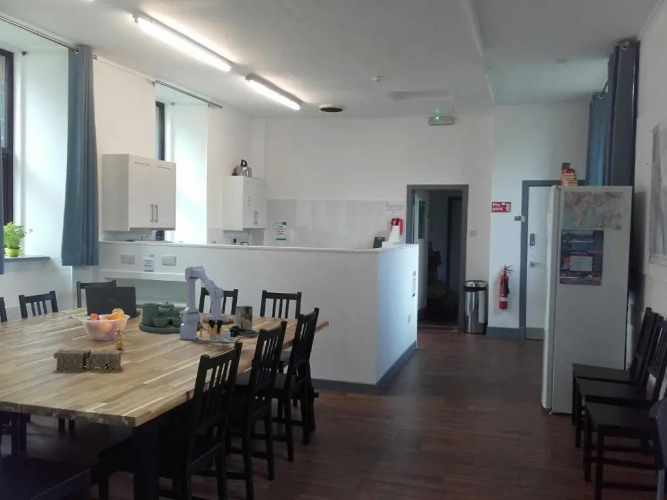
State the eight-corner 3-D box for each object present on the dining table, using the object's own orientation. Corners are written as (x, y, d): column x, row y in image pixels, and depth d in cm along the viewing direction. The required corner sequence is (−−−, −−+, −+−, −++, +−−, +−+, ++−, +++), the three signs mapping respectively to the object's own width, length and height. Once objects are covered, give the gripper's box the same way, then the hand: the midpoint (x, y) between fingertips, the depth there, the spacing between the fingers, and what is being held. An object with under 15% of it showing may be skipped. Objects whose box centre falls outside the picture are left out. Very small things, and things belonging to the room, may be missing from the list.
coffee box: (247, 329, 384) (247, 305, 383) (252, 330, 379) (253, 306, 378) (235, 330, 378) (235, 306, 377) (240, 332, 373) (240, 307, 372)
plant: (219, 319, 421) (219, 304, 421) (237, 322, 410) (238, 307, 409) (197, 322, 405) (197, 306, 405) (216, 326, 394) (216, 309, 393)
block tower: (122, 367, 281) (59, 365, 278) (122, 350, 281) (60, 347, 278) (117, 371, 274) (53, 369, 271) (118, 353, 273) (53, 351, 270)
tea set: (169, 336, 356) (169, 309, 355) (126, 328, 377) (126, 303, 376) (214, 327, 390) (214, 303, 389) (172, 320, 411) (172, 297, 410)
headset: (226, 317, 368) (257, 321, 369) (224, 332, 368) (255, 336, 369) (223, 321, 355) (255, 325, 356) (221, 336, 355) (253, 340, 356)
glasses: (199, 337, 325) (199, 328, 325) (207, 333, 338) (207, 324, 338) (214, 338, 324) (214, 329, 324) (221, 333, 337) (221, 325, 337)
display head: (204, 341, 341) (204, 332, 341) (211, 337, 355) (212, 328, 355) (233, 343, 339) (233, 334, 339) (240, 338, 353) (240, 329, 353)
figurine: (127, 348, 319) (128, 326, 318) (125, 350, 313) (125, 328, 312) (112, 348, 317) (112, 326, 317) (109, 350, 311) (109, 328, 311)
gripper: (201, 310, 327) (200, 333, 328) (226, 311, 325) (225, 335, 326) (205, 308, 334) (205, 331, 335) (230, 309, 332) (229, 333, 333)
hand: (215, 333), depth 331 cm, fingers closed on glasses, 2 cm apart
